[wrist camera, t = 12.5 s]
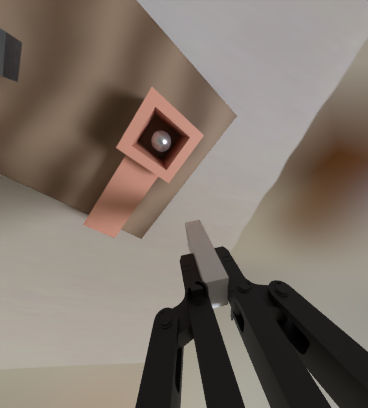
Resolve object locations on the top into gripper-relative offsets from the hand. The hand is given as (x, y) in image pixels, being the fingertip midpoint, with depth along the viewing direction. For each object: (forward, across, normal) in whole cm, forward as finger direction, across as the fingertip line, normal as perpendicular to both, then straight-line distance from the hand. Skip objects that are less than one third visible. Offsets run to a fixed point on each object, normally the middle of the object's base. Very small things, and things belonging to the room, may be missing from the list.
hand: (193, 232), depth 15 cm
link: (+8, -5, +5) cm, 11 cm away
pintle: (+9, -2, +9) cm, 13 cm away
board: (+9, -8, +11) cm, 16 cm away
